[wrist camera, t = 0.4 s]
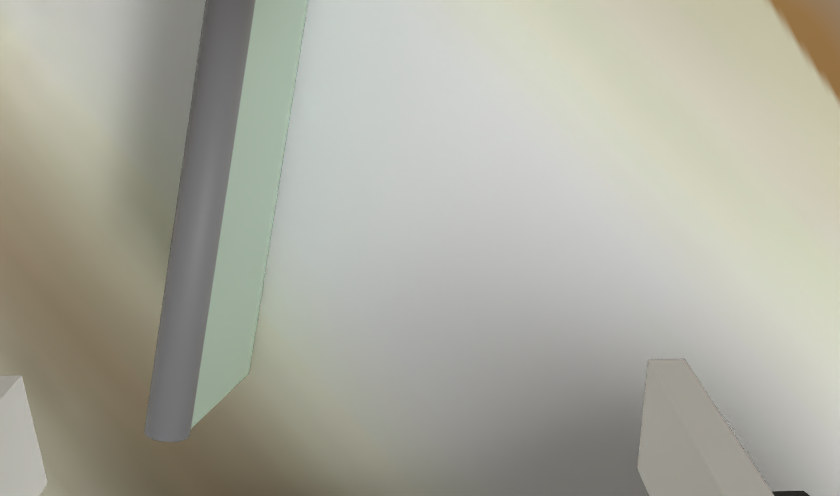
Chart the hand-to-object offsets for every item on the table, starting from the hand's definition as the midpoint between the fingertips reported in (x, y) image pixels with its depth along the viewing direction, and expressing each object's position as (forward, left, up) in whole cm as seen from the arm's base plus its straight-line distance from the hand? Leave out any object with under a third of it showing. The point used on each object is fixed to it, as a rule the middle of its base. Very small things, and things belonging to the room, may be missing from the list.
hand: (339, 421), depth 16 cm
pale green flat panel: (+8, +4, -19) cm, 21 cm away
